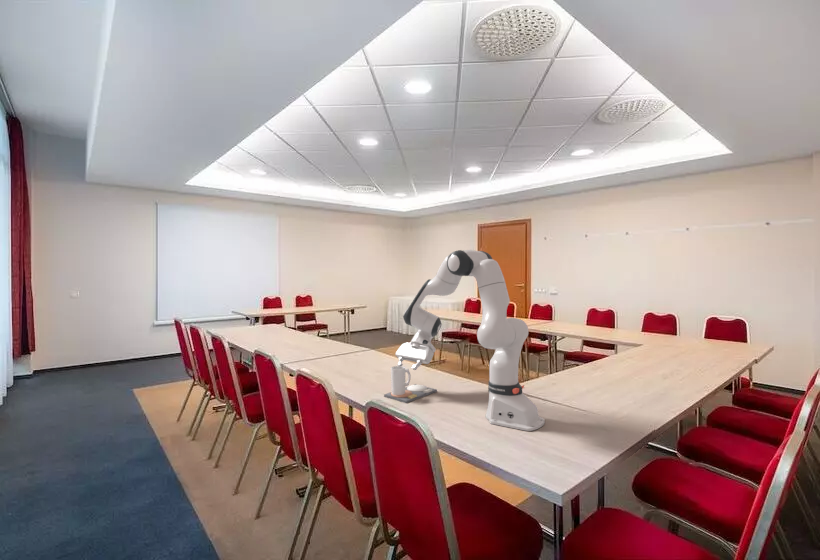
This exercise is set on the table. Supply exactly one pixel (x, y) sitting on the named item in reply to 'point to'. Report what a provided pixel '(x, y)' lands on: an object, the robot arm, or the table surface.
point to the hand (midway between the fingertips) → (406, 367)
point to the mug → (399, 380)
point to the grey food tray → (412, 393)
